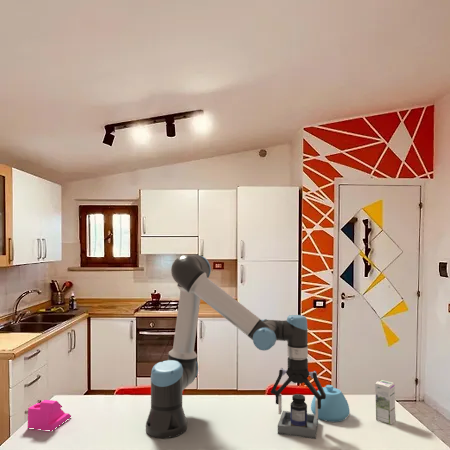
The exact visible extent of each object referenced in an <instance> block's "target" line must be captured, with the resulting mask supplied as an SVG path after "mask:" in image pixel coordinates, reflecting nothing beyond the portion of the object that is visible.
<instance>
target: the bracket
mask: <svg viewBox="0 0 450 450" xmlns="http://www.w3.org/2000/svg"><path fill="white" fill-rule="evenodd" d="M62 408H63V406H62V405H61V403H59V401H58V400H52V399H51V400H49V399H44V400H41V401H40V402H36V403H35V404H33V405H31V406H29V407H28V408H27V429H28V428H34V429H41V430H50V431H52V430H54V429H55V428H56V427H58V426H59V425H61V424H62V423H63V422H65V421H66V420H67V419H69V418H70V417H71V416H72V415H71V414H70V413H66V412H65V411H64V410H62ZM65 423H66V422H65ZM61 426H62V425H61ZM58 428H59V427H58ZM55 430H56V429H55ZM55 430H54V431H55Z"/></svg>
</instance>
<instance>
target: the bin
mask: <svg viewBox="0 0 450 450" xmlns="http://www.w3.org/2000/svg"><path fill="white" fill-rule="evenodd" d="M318 421H319V418H318V419H316V415H315V414H312V413H307V427H299V426H291V411H290V410H289V411H288V410H282V412H281V414H280V418H279V420H278V423H277V435H284V436H291V437H299V438H305V439H312V440H313V439H314V440H316V439H317V431H318V425H319V424H318V423H319V422H318Z"/></svg>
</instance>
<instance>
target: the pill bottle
mask: <svg viewBox="0 0 450 450" xmlns="http://www.w3.org/2000/svg"><path fill="white" fill-rule="evenodd" d="M291 397H292V399H291V400H292V401H291V402H290V412H291V426H299V427H307V414H308V405H307V403H306V396H305V395H303V394H300V393H296V394H293V395H292V396H291Z"/></svg>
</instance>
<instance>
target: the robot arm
mask: <svg viewBox="0 0 450 450" xmlns="http://www.w3.org/2000/svg"><path fill="white" fill-rule="evenodd" d="M170 268H171V270H170V271H171V272H170V273H171V276H172V278H173V280H174V281H175V283H177V284H176V286H177V288H178V289H179V291H180V292H179V299H178V306H177V307H178V308H177V316H176V321H175V329H174V330H175V331H174V336H173V346H172V349H171V350H170V351H168V357H167V360H163V361H159V362H157V363H155V364H154V365H153V367H152V369H151V375H150V411H149V414H148V416H147V419H146V423H145V432H146V434H147V435H149V436H151V437H154V438H157V439H158V438H159V439H169V438H174V437H178V436H180V435H182V434H184V433H185V432H186V431H187V429H188V428H187V427H188V420H187V418H186V414H185V410H184V408H183V392H184V390H185V389H186V388H188V387H189V386H190V385H191V384H192V383H193V382H194V380H195V379H196V378H197V375H198V373H199V364H198V361H197V357H198V355H197V353H196V351H195V345H196V344H195V343H196V336H197V329H198V320H199V313H200V306H201V300H202V301H203V302H204V303H205V304H207V305H208V306H209V307H210V308H212V310H214V311H215V312H217V313H218V314H219V315H221V317H223V318H224V319H226V320H227V321H228V322H229V323H231V324H232V325H233V326H234V327H236V328H237V329H238V330H239V331H241V332H242V333H244V335H245V336H247V337H248V338H249V339H250V340H252V342H253V345H254V347H255V348H257V349H258V350H260V351H268V350H270V349H271V348H273V347H274V346H275V345H276V342H277V341H281V342H287V345H286V346H287V369H284V368H283V367H281V368H279V371H278V376H277V378H276V380H275V382H274V383H273V384H274V385H273V387H272V389H271V390H270V394H272V395H274V396H275V405H278V415H282V412H283V410H282V409H283V408H282V407H283V405H282V402H283V401H282V400H283V399H282V392H283V391H284V390H285V389H286V388H287V387H288V385H289V384H291V382H292V383H293V384H301V385H302V384H304V385H305V386H306V387H307V388H308V390H309V391H310V392H311V393H312V394H313V397H314V396H315V397H316V400H315V411H316V419H318V420H319V418H318V409H321V400H322V399H325V398H326V394H325V392H324V390H323V388H322V387H323V386H322V383H321V382H320V380H319V378H318V373H317V371H316V370H313V371H309V361H308V360H309V359H308V357H309V352H308V351H309V348H308V347H309V346H308V341H309V340H308V337H309V336H308V333H309V331H308V319H307V317H306V316H305V315H301V314H292V315H290V314H289V315H288V316H287V317H286V320H278V319H277V320H276V319H267V318H265V319H261V318H259V316H257V315H256V314H255V313H254V312H252V311H251V310H250V309H248V308H247V307H245V305H243V304H242V303H241V302H239V301H238V300H237V299H236V298H234V297H233V296H232V295H231V294H229V293H227V291H225V290H224V289H222V288H221V287H220V286H219V285H218V284H216V283H215V282H214V281H213V280H211V279H210V278H209V277H210V275H211V274H212V273H211V272H212V267H211V263H210V262H209V260H208V259H207V258H206V257H204V256H203V255H200V254H194V253H193V254H185V255H184V254H183V255H180V256H179V257H177V258H176V259H175V260H173V262H172V265H171V267H170ZM285 374H286V376H287V377H288V378H287V379H286V380H285V381H284V383H283V384H281V386H280V387H279V388H278V389H277V387H278V385H279V383H280V381H281V379H282V378H283V376H285ZM309 377H310V378H311V379H313V382H314V384H315V386H316V387H317V389H316V388H315V387H314V386H313V384H312V383H311V381H310V380H309ZM318 390H319V392H320V394H321V395H320V394H319V393H318V392H317V391H318Z"/></svg>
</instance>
